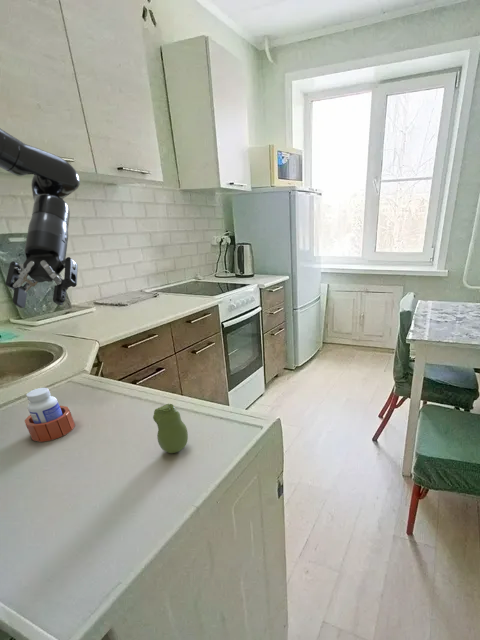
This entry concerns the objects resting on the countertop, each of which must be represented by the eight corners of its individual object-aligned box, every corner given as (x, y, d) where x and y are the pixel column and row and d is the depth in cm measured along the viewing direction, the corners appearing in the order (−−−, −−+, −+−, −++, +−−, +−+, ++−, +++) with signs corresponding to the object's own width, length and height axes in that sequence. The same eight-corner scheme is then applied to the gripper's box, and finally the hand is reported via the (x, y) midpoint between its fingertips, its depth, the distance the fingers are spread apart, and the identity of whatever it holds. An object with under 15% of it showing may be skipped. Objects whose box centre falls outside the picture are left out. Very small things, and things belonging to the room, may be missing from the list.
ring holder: (22, 438, 76) (15, 422, 74) (56, 418, 82) (50, 403, 81) (50, 444, 73) (44, 428, 71) (83, 423, 80) (77, 408, 78)
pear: (170, 462, 66) (158, 416, 61) (155, 451, 69) (144, 407, 64) (195, 448, 69) (186, 404, 65) (180, 438, 72) (171, 395, 68)
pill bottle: (70, 422, 81) (55, 383, 76) (64, 434, 76) (48, 394, 72) (43, 427, 79) (27, 388, 75) (36, 440, 75) (18, 399, 70)
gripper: (3, 231, 76) (-9, 298, 72) (67, 226, 76) (58, 293, 72) (30, 252, 84) (20, 315, 79) (88, 247, 83) (81, 310, 79)
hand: (38, 304), depth 76 cm, fingers open, 8 cm apart
